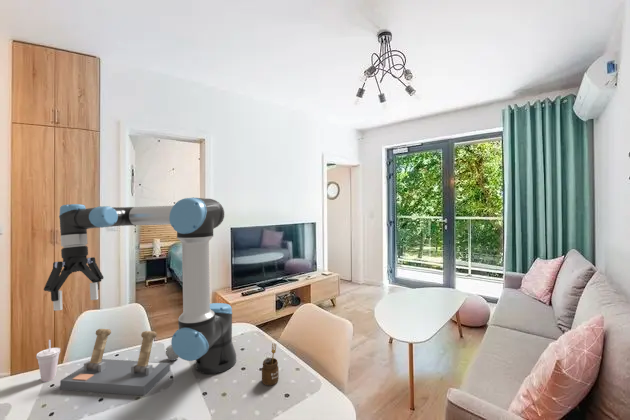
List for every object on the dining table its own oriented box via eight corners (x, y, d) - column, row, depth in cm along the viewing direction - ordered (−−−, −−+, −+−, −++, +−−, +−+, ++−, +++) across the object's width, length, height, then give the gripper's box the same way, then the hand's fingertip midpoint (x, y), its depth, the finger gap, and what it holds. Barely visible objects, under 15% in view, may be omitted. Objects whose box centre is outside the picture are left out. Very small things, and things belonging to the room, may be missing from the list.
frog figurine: (179, 363, 112) (179, 346, 112) (161, 363, 113) (161, 345, 113) (186, 355, 118) (186, 338, 118) (170, 355, 119) (170, 338, 119)
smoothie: (45, 385, 98) (45, 344, 98) (31, 383, 100) (30, 343, 99) (65, 374, 105) (65, 336, 104) (51, 372, 106) (51, 334, 106)
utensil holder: (258, 384, 99) (258, 350, 99) (267, 374, 105) (267, 342, 105) (273, 387, 98) (274, 352, 97) (281, 377, 104) (281, 344, 103)
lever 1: (103, 369, 103) (113, 329, 107) (98, 370, 101) (108, 329, 105) (89, 368, 103) (100, 328, 108) (83, 369, 101) (95, 328, 106)
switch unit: (169, 370, 107) (169, 356, 107) (144, 395, 93) (144, 378, 93) (96, 366, 110) (96, 352, 110) (60, 389, 96) (60, 373, 96)
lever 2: (150, 372, 101) (158, 331, 106) (145, 373, 99) (154, 331, 103) (136, 371, 102) (144, 330, 106) (131, 372, 100) (140, 331, 104)
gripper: (96, 244, 119) (99, 296, 117) (27, 250, 94) (30, 316, 93) (112, 243, 117) (115, 295, 116) (46, 248, 93) (49, 314, 92)
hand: (77, 304), depth 104 cm, fingers open, 13 cm apart
